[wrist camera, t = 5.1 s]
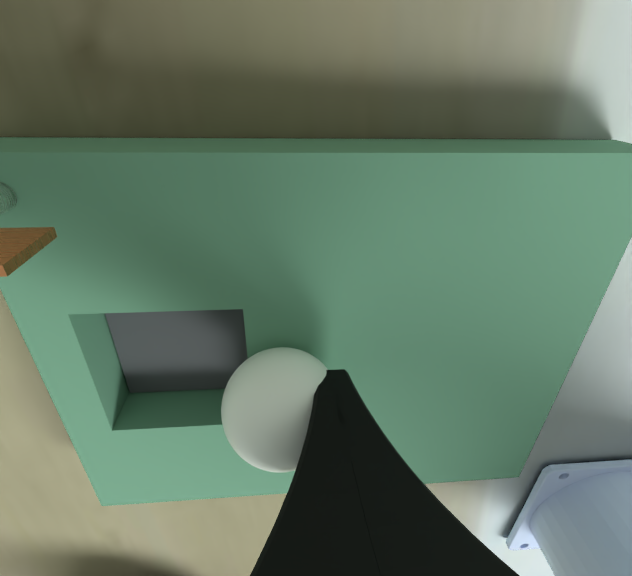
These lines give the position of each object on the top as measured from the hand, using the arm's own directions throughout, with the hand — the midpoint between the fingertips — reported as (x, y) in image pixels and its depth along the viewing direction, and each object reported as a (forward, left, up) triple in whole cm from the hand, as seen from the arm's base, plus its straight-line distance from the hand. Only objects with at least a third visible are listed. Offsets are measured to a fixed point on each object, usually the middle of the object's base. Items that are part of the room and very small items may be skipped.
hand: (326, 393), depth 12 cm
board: (0, 0, -3) cm, 3 cm away
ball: (+1, 0, +2) cm, 3 cm away
